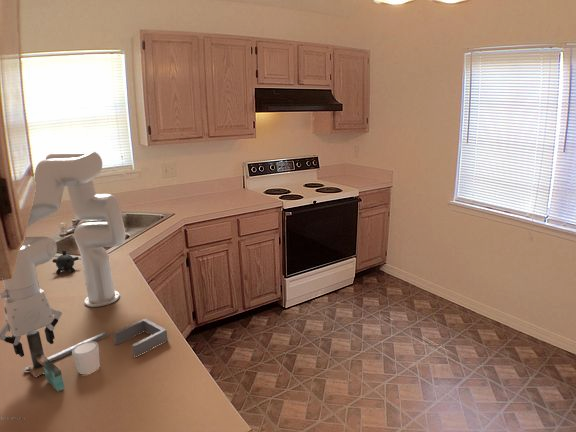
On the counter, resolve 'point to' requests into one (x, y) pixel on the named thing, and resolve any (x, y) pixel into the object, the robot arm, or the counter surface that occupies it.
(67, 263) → the dark lidded pot
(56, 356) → the rail
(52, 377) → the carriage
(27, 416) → the counter surface
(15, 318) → the robot arm
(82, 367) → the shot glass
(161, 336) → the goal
